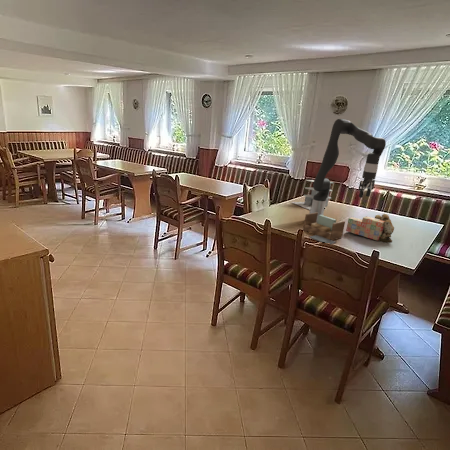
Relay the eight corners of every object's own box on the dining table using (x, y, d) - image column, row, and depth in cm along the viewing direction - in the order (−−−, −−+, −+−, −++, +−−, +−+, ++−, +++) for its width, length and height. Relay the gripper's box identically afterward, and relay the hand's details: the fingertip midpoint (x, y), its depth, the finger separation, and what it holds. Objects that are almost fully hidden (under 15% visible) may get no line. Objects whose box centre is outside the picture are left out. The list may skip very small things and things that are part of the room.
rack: (303, 229, 222) (305, 214, 219) (313, 227, 229) (316, 212, 226) (331, 240, 206) (334, 223, 203) (341, 237, 213) (345, 221, 210)
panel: (316, 229, 223) (318, 215, 220) (318, 228, 224) (320, 214, 221) (331, 234, 214) (334, 220, 211) (333, 234, 215) (336, 219, 212)
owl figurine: (361, 234, 223) (367, 210, 218) (373, 233, 229) (379, 209, 224) (384, 244, 208) (391, 218, 203) (396, 242, 214) (403, 217, 209)
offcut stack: (308, 229, 221) (309, 223, 219) (313, 228, 224) (314, 222, 222) (329, 237, 209) (330, 230, 208) (333, 235, 212) (334, 229, 211)
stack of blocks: (345, 231, 224) (349, 213, 220) (349, 229, 229) (353, 212, 225) (377, 240, 210) (381, 222, 207) (380, 238, 215) (385, 220, 211)
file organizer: (340, 208, 295) (345, 184, 288) (310, 209, 279) (314, 184, 272) (320, 201, 317) (324, 178, 310) (291, 202, 301) (294, 178, 294)
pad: (309, 237, 208) (309, 236, 208) (316, 235, 213) (317, 234, 213) (328, 244, 198) (328, 244, 197) (335, 242, 203) (335, 241, 202)
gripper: (370, 169, 208) (364, 194, 213) (358, 170, 199) (352, 196, 204) (381, 171, 203) (375, 197, 208) (370, 172, 194) (364, 199, 199)
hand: (364, 196), depth 206 cm, fingers open, 8 cm apart
